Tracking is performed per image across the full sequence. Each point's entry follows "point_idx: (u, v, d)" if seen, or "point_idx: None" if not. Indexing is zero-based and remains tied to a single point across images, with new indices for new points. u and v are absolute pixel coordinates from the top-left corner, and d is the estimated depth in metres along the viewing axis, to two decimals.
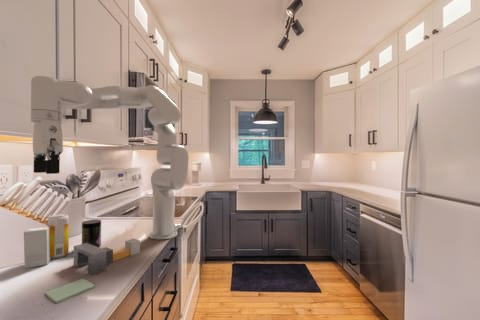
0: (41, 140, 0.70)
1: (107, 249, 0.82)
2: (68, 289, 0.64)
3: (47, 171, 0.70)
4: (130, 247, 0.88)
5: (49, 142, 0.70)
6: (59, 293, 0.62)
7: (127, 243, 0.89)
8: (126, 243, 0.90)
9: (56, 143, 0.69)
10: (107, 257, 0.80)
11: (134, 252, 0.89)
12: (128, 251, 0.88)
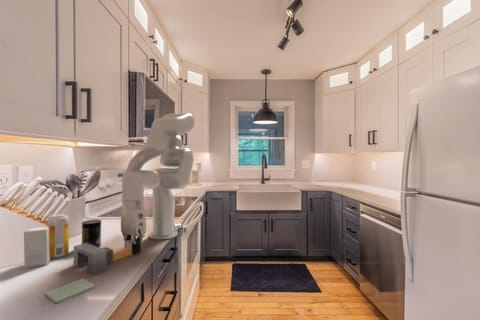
0: (132, 225, 0.87)
1: (107, 249, 0.82)
2: (68, 289, 0.64)
3: (133, 252, 0.88)
4: (130, 247, 0.88)
5: (138, 227, 0.87)
6: (59, 293, 0.62)
7: (127, 243, 0.89)
8: (126, 243, 0.90)
9: (142, 232, 0.87)
10: (107, 257, 0.80)
11: None
12: (128, 251, 0.88)
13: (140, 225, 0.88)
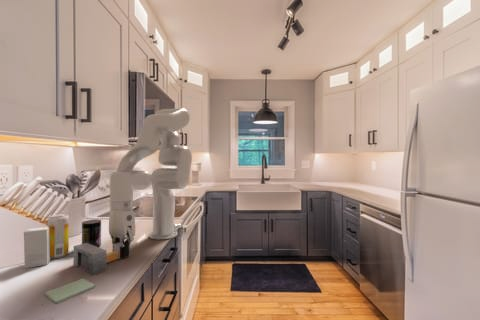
0: (120, 228, 0.83)
1: None
2: (68, 289, 0.64)
3: (121, 256, 0.84)
4: (118, 250, 0.84)
5: (126, 229, 0.83)
6: (59, 293, 0.62)
7: (115, 246, 0.85)
8: (114, 246, 0.86)
9: (131, 235, 0.83)
10: None
11: None
12: (116, 254, 0.84)
13: (129, 228, 0.84)
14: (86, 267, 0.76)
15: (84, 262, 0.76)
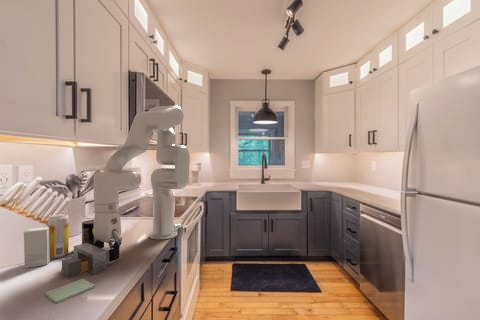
0: (104, 231, 0.79)
1: (75, 259, 0.74)
2: (68, 289, 0.64)
3: (110, 259, 0.78)
4: None
5: (111, 233, 0.79)
6: (59, 293, 0.62)
7: None
8: None
9: (118, 235, 0.78)
10: (74, 268, 0.72)
11: (107, 261, 0.81)
12: None
13: None
14: (66, 274, 0.71)
15: (64, 269, 0.72)
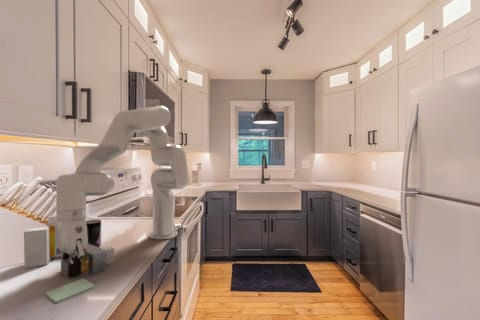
0: (67, 242, 0.70)
1: None
2: (68, 289, 0.64)
3: (70, 275, 0.70)
4: None
5: (75, 243, 0.70)
6: (59, 293, 0.62)
7: None
8: None
9: (81, 250, 0.70)
10: None
11: (107, 261, 0.81)
12: None
13: (78, 241, 0.71)
14: (66, 274, 0.71)
15: (64, 269, 0.72)
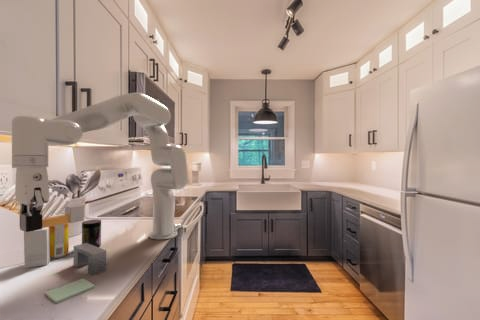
0: (24, 190, 0.61)
1: None
2: (68, 289, 0.64)
3: (28, 229, 0.62)
4: (70, 213, 0.72)
5: (33, 192, 0.61)
6: (59, 293, 0.62)
7: (67, 208, 0.73)
8: (66, 209, 0.73)
9: (39, 200, 0.61)
10: None
11: (75, 219, 0.72)
12: (67, 218, 0.71)
13: (37, 190, 0.63)
14: (24, 228, 0.63)
15: (22, 222, 0.64)
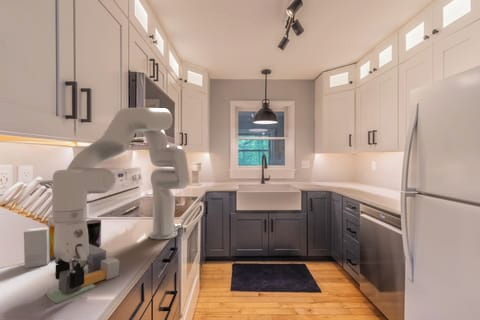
0: (65, 248, 0.60)
1: None
2: None
3: (71, 286, 0.60)
4: (106, 269, 0.70)
5: (74, 250, 0.60)
6: (59, 293, 0.62)
7: (103, 263, 0.71)
8: (102, 263, 0.71)
9: (82, 254, 0.59)
10: None
11: (111, 275, 0.70)
12: (103, 274, 0.70)
13: None
14: (64, 289, 0.61)
15: (62, 283, 0.62)
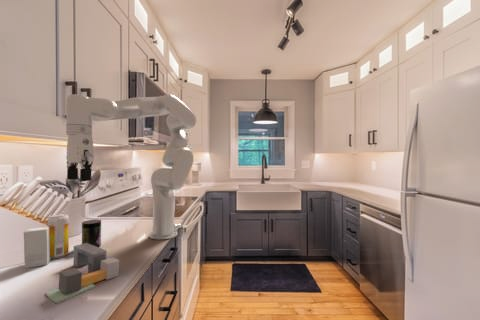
0: (76, 151, 0.79)
1: (75, 271, 0.64)
2: None
3: (81, 179, 0.79)
4: (106, 269, 0.70)
5: (83, 153, 0.80)
6: (59, 293, 0.62)
7: (103, 263, 0.71)
8: (102, 263, 0.71)
9: (89, 154, 0.79)
10: (73, 282, 0.62)
11: (111, 275, 0.70)
12: (103, 274, 0.70)
13: None
14: (64, 289, 0.61)
15: (62, 283, 0.62)
